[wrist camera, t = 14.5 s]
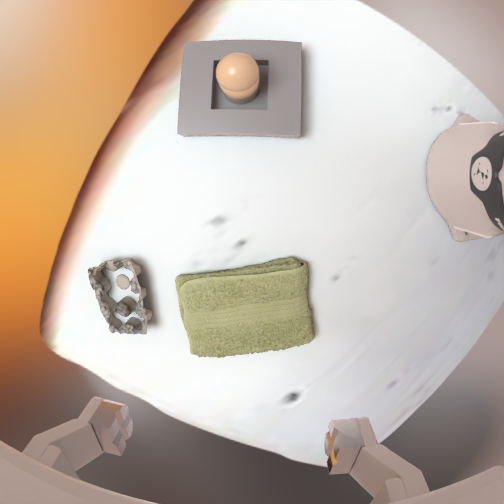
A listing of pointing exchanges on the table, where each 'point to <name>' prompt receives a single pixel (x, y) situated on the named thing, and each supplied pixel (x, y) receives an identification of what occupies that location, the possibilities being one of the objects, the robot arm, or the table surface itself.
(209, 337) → the washcloth
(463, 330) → the table surface
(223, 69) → the peach dome-topped peg
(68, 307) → the table surface
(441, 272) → the table surface
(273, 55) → the grey square peg hole
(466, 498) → the robot arm
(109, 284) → the egg carton
